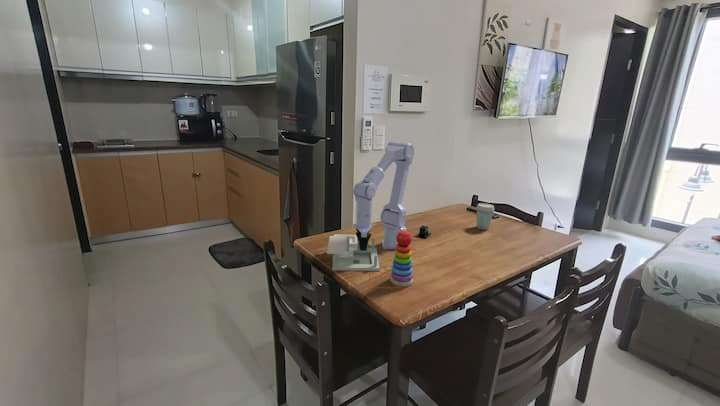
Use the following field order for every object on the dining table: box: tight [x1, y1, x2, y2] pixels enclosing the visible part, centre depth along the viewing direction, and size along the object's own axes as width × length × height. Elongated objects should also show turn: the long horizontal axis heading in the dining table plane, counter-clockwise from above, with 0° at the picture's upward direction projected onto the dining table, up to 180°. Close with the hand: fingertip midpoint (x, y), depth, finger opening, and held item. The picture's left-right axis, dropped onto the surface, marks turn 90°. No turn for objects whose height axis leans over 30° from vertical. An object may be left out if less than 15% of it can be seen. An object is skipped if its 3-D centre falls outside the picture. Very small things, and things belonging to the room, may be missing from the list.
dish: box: [333, 234, 358, 247], centre depth 147 cm, size 10×10×2 cm
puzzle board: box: [331, 238, 381, 272], centre depth 130 cm, size 17×18×6 cm
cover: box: [326, 235, 350, 255], centre depth 129 cm, size 8×15×1 cm, turn 1°
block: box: [357, 240, 369, 253], centre depth 129 cm, size 4×4×4 cm
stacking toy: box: [389, 230, 414, 288], centre depth 113 cm, size 8×8×19 cm
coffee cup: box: [476, 202, 495, 231], centre depth 169 cm, size 8×8×12 cm
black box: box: [414, 225, 433, 240], centre depth 158 cm, size 12×7×5 cm, turn 149°
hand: (362, 247), depth 129 cm, fingers closed on block, 4 cm apart
